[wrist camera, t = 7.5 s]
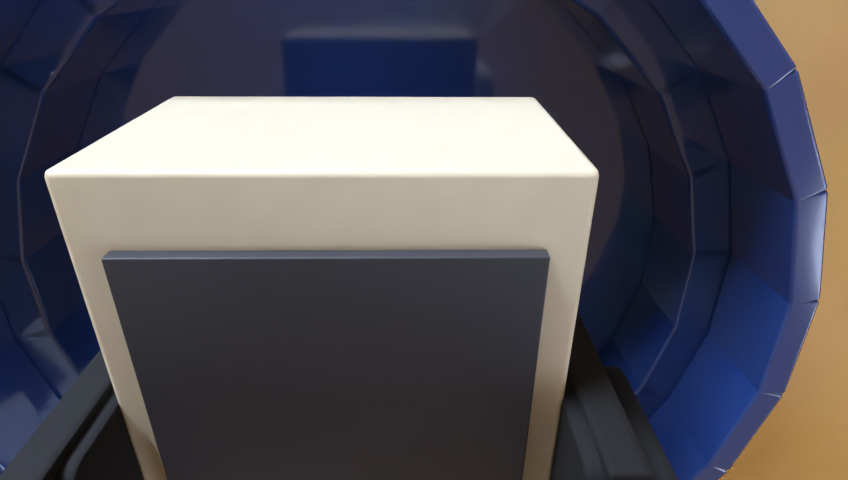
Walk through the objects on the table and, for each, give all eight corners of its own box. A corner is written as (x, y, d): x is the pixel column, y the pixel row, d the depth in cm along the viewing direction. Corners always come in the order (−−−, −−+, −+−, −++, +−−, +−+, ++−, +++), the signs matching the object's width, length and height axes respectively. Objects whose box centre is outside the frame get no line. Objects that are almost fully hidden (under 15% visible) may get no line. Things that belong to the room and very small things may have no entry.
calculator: (171, 95, 9) (25, 177, 6) (536, 95, 9) (608, 176, 6) (250, 490, 13) (196, 671, 10) (497, 487, 13) (526, 665, 10)
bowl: (-90, -151, 11) (-419, -230, 7) (785, -142, 12) (1018, -209, 7) (122, 475, 19) (36, 629, 15) (634, 467, 20) (700, 613, 15)
